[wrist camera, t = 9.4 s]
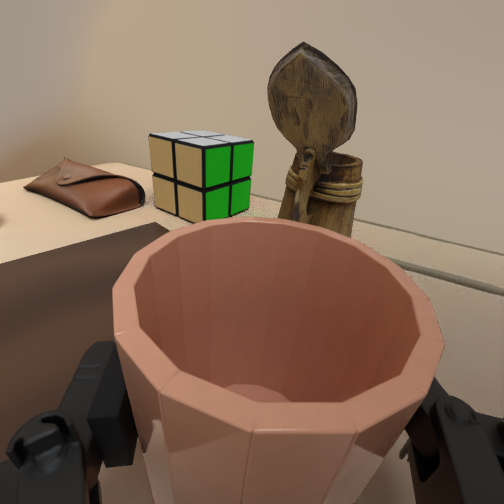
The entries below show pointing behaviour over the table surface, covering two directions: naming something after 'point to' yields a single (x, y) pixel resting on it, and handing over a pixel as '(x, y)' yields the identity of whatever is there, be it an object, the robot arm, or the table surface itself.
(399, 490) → the table surface
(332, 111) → the wooden mug
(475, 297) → the table surface
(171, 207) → the puzzle cube
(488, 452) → the robot arm
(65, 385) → the walnut board
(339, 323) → the cup
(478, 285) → the table surface
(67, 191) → the sunglasses case
